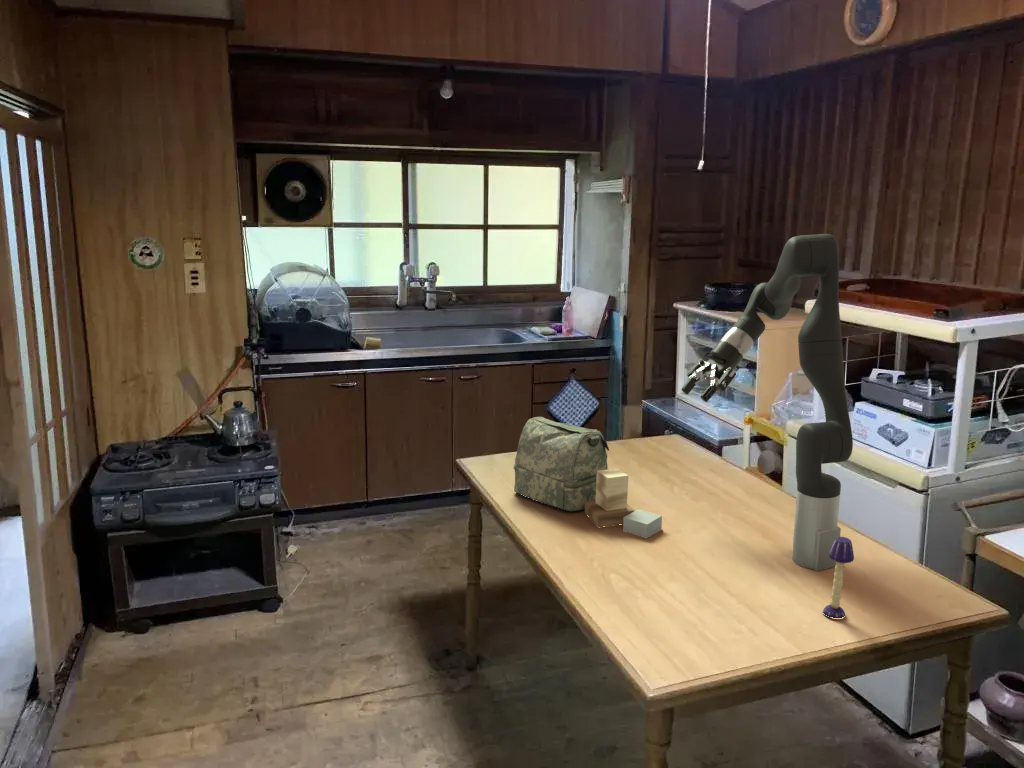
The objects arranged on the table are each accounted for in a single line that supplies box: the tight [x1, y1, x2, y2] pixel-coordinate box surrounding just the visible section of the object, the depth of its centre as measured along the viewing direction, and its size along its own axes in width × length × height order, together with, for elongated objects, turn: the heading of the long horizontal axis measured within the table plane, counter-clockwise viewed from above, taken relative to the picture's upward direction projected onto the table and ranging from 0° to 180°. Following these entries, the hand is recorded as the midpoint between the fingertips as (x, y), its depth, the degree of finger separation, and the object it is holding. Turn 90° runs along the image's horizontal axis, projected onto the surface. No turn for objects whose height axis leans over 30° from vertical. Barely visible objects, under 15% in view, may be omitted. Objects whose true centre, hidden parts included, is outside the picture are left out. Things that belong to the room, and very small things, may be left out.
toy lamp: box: [822, 536, 855, 618], centre depth 160 cm, size 5×5×17 cm
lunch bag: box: [513, 416, 610, 512], centre depth 224 cm, size 26×18×22 cm
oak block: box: [595, 468, 629, 511], centre depth 209 cm, size 6×6×9 cm
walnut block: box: [584, 500, 636, 528], centre depth 211 cm, size 10×10×4 cm
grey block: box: [622, 509, 663, 539], centre depth 203 cm, size 7×7×4 cm
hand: (693, 396), depth 207 cm, fingers open, 8 cm apart
